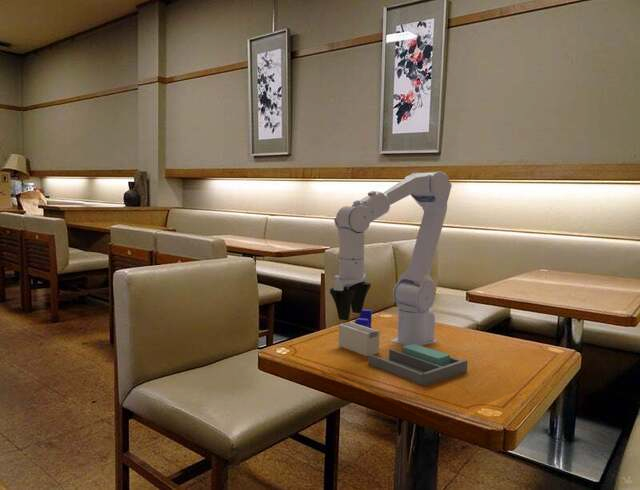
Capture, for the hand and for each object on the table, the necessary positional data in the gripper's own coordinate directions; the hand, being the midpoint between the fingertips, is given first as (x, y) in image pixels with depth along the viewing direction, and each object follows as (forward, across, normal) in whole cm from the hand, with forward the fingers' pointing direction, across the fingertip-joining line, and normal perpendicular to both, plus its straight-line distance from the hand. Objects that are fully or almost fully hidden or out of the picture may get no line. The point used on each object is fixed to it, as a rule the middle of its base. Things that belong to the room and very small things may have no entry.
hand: (350, 316), depth 112 cm
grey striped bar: (+10, -4, +1) cm, 10 cm away
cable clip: (+10, -17, -4) cm, 20 cm away
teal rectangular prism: (+9, -1, +18) cm, 20 cm away
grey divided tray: (+10, +2, +16) cm, 19 cm away
